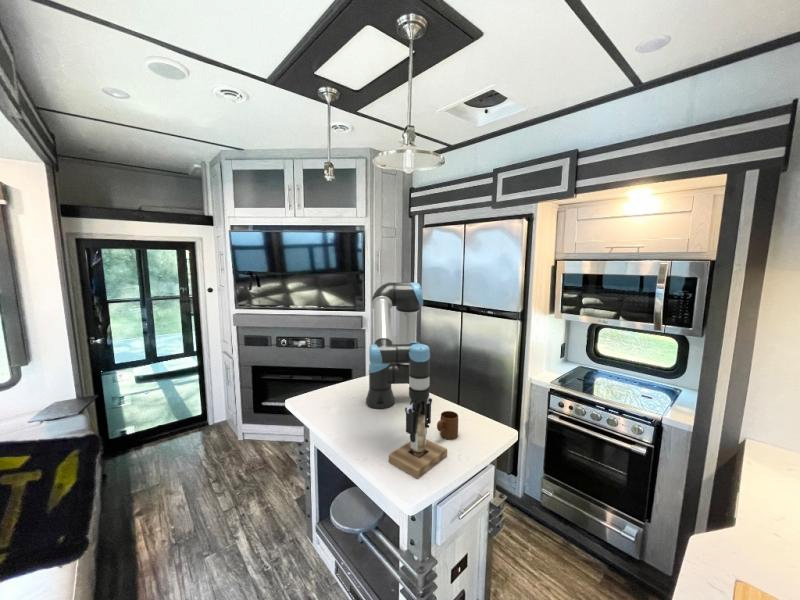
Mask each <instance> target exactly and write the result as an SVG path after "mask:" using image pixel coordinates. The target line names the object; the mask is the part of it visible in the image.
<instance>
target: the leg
mask: <svg viewBox="0 0 800 600" xmlns="http://www.w3.org/2000/svg"><path fill="white" fill-rule="evenodd" d="M416 433H418V450H417V451H416V450H414V449H412V451H413V452H414V456H416V457H418V458H421V457H423V453H424V451H425V415H423V414H420V415H419V417H418V424H417V431H416Z"/></svg>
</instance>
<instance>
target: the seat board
mask: <svg viewBox="0 0 800 600" xmlns="http://www.w3.org/2000/svg"><path fill="white" fill-rule="evenodd" d="M447 457H448V448H446V447H444V446H442V445H440V444H437V443H435V442H433V441H431V440H429V439H427V438H426V445H425V451H424V453H423V457H421V458H418V457H416V456H414V452H413V451H412V448H411V441H410V440H409V442H406V443H405V444H403V445H401V446H400V447H398V448H397V449H396V450H394V451H392V452H391V453H389V454H388V463H389V464H390V465H393V466H394V467H396V468H398V469H399V470H401V471H403V472H404V473H406V474H408V475H410V476H412V477H414V478H415V479H417V480H418V479H420V478H421V477H422V476H424V475H425V474H426V473H427V472H428V471H430V470H431V469H433V468H435V466H437V465H438V464H439V463H441V461H442V462H443V460H444V459H446V458H447Z"/></svg>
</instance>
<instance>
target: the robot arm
mask: <svg viewBox="0 0 800 600" xmlns="http://www.w3.org/2000/svg"><path fill="white" fill-rule="evenodd" d="M422 290H423V289H422V286H421V284H420V283H419V282H411V281H408V282H407V281H405V282H386V283H384V284H381V285H380V286H379V287H378V288H377V289H376V290H375V291H374V293H373V295H372V296H371V308H372V309H373V344H370V345H369V356H368V357H369V360H368V361H369V366H368V392H367V395H366V397H365V405H366V406H367V407H369V408H371V409H374V410H382V409H383V410H384V409H388V408H391V407H392V406H394V405H395V396H394V394H393V389H392V385H400V384H401V385H404V384H406V385H407V384H408V386H409V387H408V396H409V397H408V398H410V403H409V406H406V407H404V411H405V433H407V434H409V442H410V441H411V448H412V449H414V450H416V451H417V450H418V433H416V431H417V424H418V417H419V415H420V414H423V415H425V445H426V439H427V432H428V431H427V430H428V428H429V429H430V424H431V423H432V402H433V398H431V397H430V365H431V364H430V362H431V361H430V360H431V359H430V358H431V352H430V351H431V350H430V346H428V345H426V344H424V343H420V342H418V341H416V337H417V336H416V335H417V334H416V333H417V332H416V331H417V313H419V312H420V308H421V307H423V306H424V296H423V291H422ZM392 307H396V308H395V309H396V311H397V312H398V343H397V344H395V343H393V333H392V332H393V331H392V315H391V309H392Z"/></svg>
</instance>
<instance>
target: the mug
mask: <svg viewBox="0 0 800 600" xmlns="http://www.w3.org/2000/svg"><path fill="white" fill-rule="evenodd" d="M436 430H437V431H438V432H440V433H439V435H440V436H441V437H442V438H443V439H444V440H450V441H451V440H455V439H457V438H458V435H459V414H458V413H457V412H455V411H452V410H446V411H442V412H441V413H440V420H438V421H437V423H436Z"/></svg>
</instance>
